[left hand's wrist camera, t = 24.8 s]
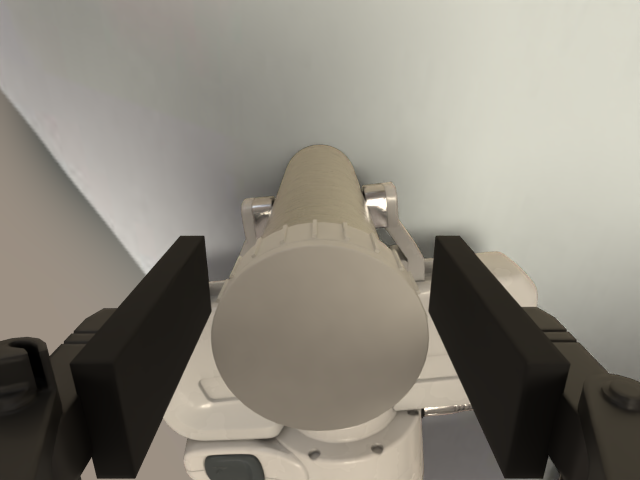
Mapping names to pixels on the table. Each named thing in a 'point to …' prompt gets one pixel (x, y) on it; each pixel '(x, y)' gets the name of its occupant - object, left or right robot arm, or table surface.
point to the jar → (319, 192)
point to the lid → (320, 327)
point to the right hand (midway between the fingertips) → (316, 192)
